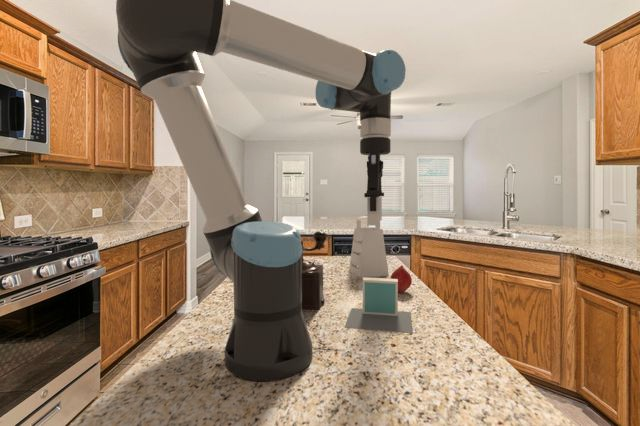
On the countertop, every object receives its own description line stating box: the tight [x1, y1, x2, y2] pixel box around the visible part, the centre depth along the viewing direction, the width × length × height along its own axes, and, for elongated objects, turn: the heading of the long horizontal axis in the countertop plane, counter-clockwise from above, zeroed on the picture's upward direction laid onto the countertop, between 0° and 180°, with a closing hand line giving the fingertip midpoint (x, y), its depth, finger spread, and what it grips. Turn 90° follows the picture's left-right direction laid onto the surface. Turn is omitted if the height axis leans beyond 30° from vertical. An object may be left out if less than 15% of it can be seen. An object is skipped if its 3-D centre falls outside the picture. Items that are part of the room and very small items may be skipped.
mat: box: [343, 307, 414, 334], centre depth 76 cm, size 12×14×1 cm
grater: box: [348, 215, 390, 279], centre depth 119 cm, size 10×10×20 cm
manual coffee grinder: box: [301, 230, 328, 311], centre depth 89 cm, size 16×11×18 cm
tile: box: [362, 277, 399, 316], centre depth 79 cm, size 2×8×8 cm, turn 77°
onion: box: [390, 265, 413, 294], centre depth 96 cm, size 6×6×8 cm
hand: (375, 222), depth 86 cm, fingers open, 13 cm apart
